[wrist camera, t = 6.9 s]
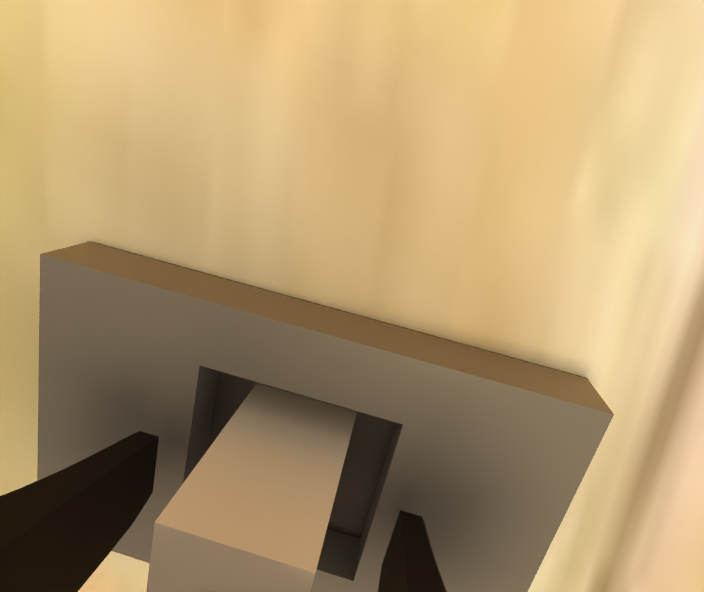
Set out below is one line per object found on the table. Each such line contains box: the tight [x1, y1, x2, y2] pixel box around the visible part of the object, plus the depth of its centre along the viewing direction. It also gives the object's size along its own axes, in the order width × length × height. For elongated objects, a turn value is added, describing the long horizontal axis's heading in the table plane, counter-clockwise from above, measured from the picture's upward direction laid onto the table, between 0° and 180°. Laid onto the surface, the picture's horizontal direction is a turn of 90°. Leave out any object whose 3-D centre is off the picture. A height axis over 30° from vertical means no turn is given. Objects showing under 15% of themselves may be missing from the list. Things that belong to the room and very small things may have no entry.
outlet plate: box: [38, 242, 614, 592], centre depth 15 cm, size 16×10×2 cm, turn 77°
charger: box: [147, 383, 357, 592], centre depth 12 cm, size 3×3×6 cm
